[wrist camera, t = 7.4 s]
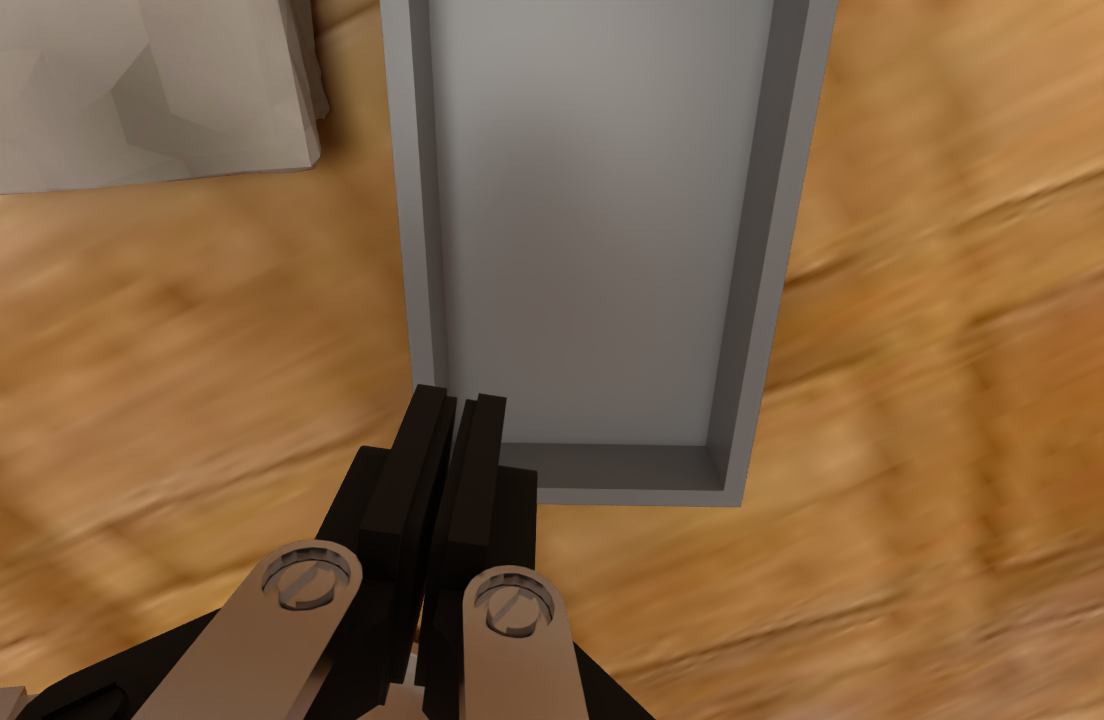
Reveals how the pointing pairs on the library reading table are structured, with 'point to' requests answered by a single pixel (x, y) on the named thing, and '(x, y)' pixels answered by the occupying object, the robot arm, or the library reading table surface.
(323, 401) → the library reading table surface
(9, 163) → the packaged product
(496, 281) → the tote
